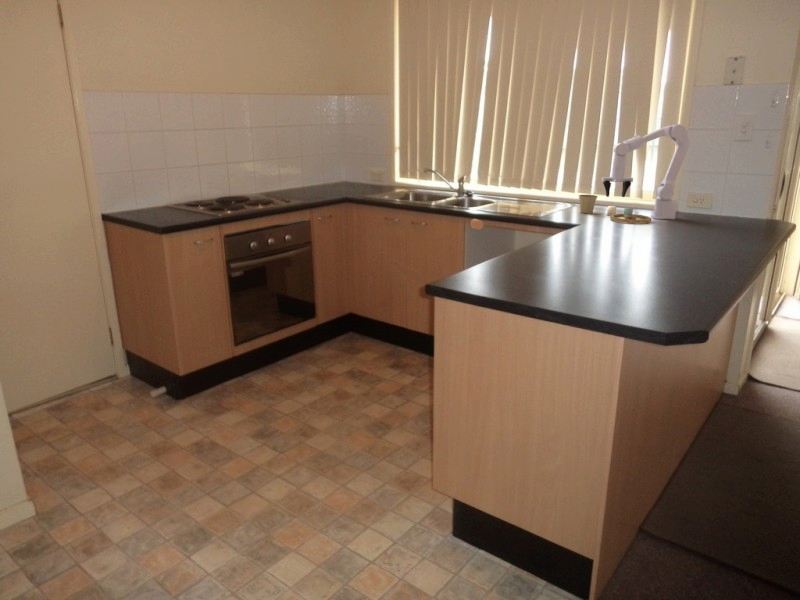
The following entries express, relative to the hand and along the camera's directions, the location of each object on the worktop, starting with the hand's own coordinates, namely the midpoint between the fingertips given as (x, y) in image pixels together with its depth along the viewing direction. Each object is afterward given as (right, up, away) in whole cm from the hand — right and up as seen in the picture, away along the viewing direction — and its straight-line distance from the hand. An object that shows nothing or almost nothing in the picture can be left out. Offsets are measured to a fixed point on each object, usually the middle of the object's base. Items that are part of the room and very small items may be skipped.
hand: (615, 196), depth 295 cm
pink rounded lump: (-72, -19, -36) cm, 82 cm away
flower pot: (-10, -6, +12) cm, 17 cm away
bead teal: (+4, -11, -5) cm, 13 cm away
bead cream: (-1, -9, +4) cm, 10 cm away
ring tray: (+3, -13, -10) cm, 17 cm away
